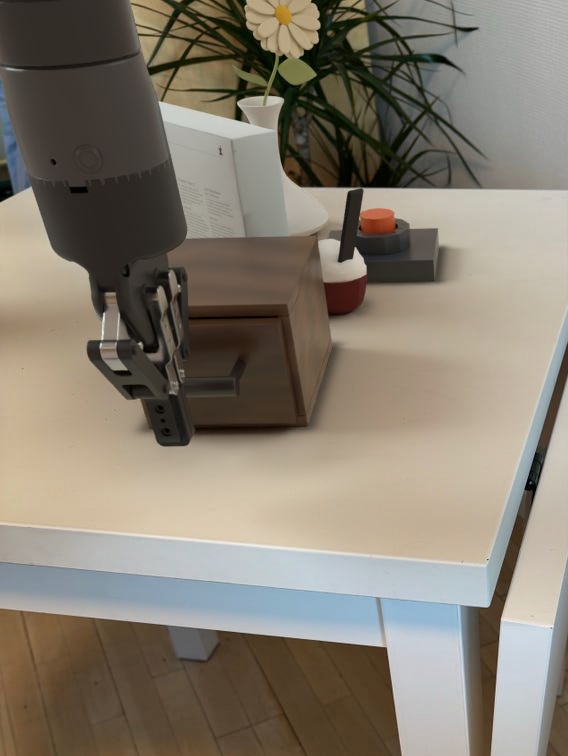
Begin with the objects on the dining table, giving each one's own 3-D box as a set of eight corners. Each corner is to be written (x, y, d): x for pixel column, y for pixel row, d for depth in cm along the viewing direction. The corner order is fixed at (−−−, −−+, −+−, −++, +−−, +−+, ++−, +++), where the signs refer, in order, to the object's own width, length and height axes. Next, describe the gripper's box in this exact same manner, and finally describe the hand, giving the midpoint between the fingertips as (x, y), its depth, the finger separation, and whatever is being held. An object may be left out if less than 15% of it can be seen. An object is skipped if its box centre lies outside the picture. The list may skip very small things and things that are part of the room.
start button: (359, 237, 94) (357, 219, 93) (363, 225, 97) (361, 208, 96) (394, 236, 94) (392, 218, 93) (396, 225, 97) (395, 207, 96)
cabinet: (307, 426, 72) (287, 303, 65) (148, 428, 72) (112, 307, 66) (332, 346, 83) (317, 235, 76) (194, 349, 83) (167, 238, 77)
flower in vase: (234, 255, 101) (180, -18, 85) (231, 224, 110) (181, -31, 93) (350, 244, 103) (319, -26, 87) (338, 214, 112) (308, -38, 95)
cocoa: (301, 296, 92) (281, 168, 84) (361, 288, 93) (347, 160, 85) (316, 333, 85) (296, 196, 77) (381, 323, 86) (368, 188, 78)
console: (320, 283, 94) (314, 244, 92) (333, 250, 102) (328, 213, 99) (434, 281, 94) (432, 241, 92) (439, 248, 102) (437, 210, 99)
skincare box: (305, 307, 90) (278, 128, 79) (260, 324, 87) (225, 140, 76) (191, 258, 101) (154, 96, 90) (148, 272, 98) (104, 105, 88)
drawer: (286, 451, 67) (267, 349, 62) (131, 454, 67) (99, 352, 62) (320, 348, 80) (307, 257, 75) (191, 350, 81) (169, 260, 75)
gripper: (71, 126, 54) (149, 396, 65) (-23, 192, 44) (88, 496, 55) (196, 123, 53) (252, 394, 65) (130, 189, 44) (210, 494, 55)
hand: (177, 440), depth 60 cm, fingers closed
